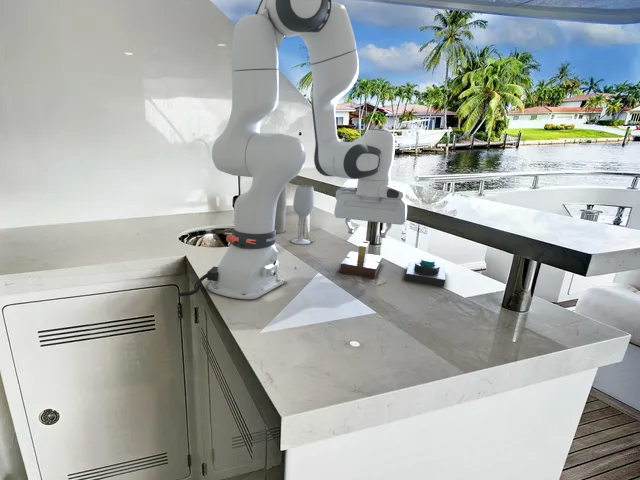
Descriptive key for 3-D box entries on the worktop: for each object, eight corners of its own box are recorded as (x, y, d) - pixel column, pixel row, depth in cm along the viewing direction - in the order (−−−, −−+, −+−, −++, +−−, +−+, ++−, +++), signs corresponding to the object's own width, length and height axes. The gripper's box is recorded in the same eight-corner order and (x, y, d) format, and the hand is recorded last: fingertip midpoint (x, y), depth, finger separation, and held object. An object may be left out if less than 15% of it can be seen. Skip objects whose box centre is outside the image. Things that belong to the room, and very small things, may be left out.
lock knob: (363, 262, 114) (366, 245, 112) (357, 261, 114) (359, 244, 113) (367, 257, 119) (369, 241, 117) (360, 256, 120) (362, 240, 118)
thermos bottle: (261, 230, 160) (264, 162, 151) (272, 227, 166) (276, 161, 157) (277, 234, 156) (281, 163, 146) (288, 230, 161) (292, 162, 152)
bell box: (443, 287, 105) (446, 273, 103) (405, 280, 109) (407, 267, 107) (443, 273, 115) (446, 261, 113) (408, 268, 119) (410, 256, 118)
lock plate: (374, 278, 110) (376, 268, 108) (339, 272, 114) (340, 262, 113) (381, 265, 121) (382, 255, 120) (349, 259, 126) (350, 250, 125)
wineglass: (312, 244, 142) (317, 188, 135) (291, 244, 142) (295, 187, 135) (309, 239, 149) (313, 185, 142) (289, 238, 149) (293, 184, 142)
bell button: (433, 268, 108) (435, 262, 108) (420, 266, 110) (421, 260, 109) (434, 264, 111) (435, 259, 111) (420, 262, 113) (421, 257, 112)
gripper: (334, 187, 111) (329, 233, 116) (409, 193, 102) (401, 242, 107) (339, 184, 116) (334, 228, 121) (411, 190, 108) (403, 237, 112)
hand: (366, 235), depth 114 cm, fingers open, 8 cm apart
